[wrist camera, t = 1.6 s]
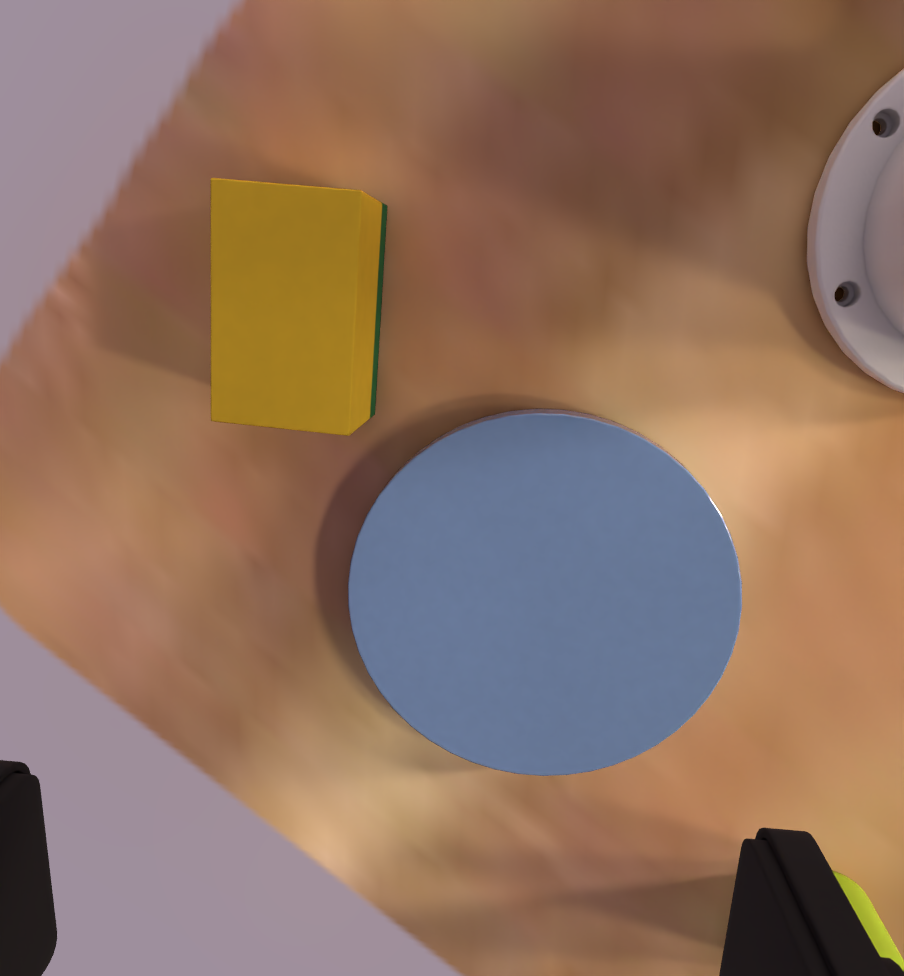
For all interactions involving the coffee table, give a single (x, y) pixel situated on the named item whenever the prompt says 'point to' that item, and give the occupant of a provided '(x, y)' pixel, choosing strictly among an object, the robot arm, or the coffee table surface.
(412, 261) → the coffee table surface
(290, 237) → the sponge
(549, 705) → the plate
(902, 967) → the soap dispenser
